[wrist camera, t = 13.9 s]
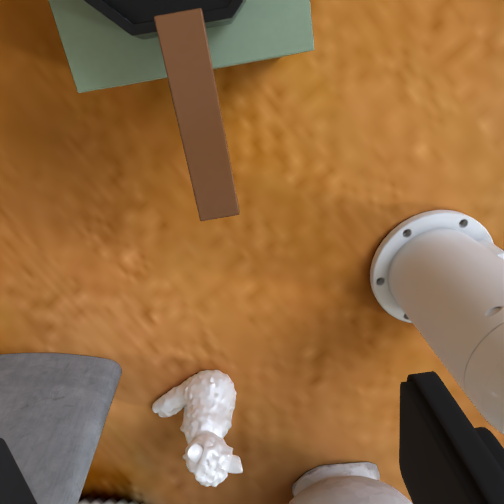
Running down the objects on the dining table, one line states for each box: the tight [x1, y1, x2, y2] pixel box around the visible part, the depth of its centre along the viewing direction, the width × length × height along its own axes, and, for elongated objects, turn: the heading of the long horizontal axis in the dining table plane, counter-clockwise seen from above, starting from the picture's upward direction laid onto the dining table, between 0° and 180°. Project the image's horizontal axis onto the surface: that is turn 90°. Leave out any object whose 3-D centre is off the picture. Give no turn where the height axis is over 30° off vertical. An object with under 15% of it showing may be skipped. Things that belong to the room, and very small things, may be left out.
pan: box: [84, 0, 246, 221], centre depth 20 cm, size 12×22×5 cm, turn 9°
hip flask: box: [0, 353, 122, 504], centre depth 36 cm, size 16×4×20 cm, turn 86°
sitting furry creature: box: [152, 370, 243, 487], centre depth 42 cm, size 10×9×12 cm
